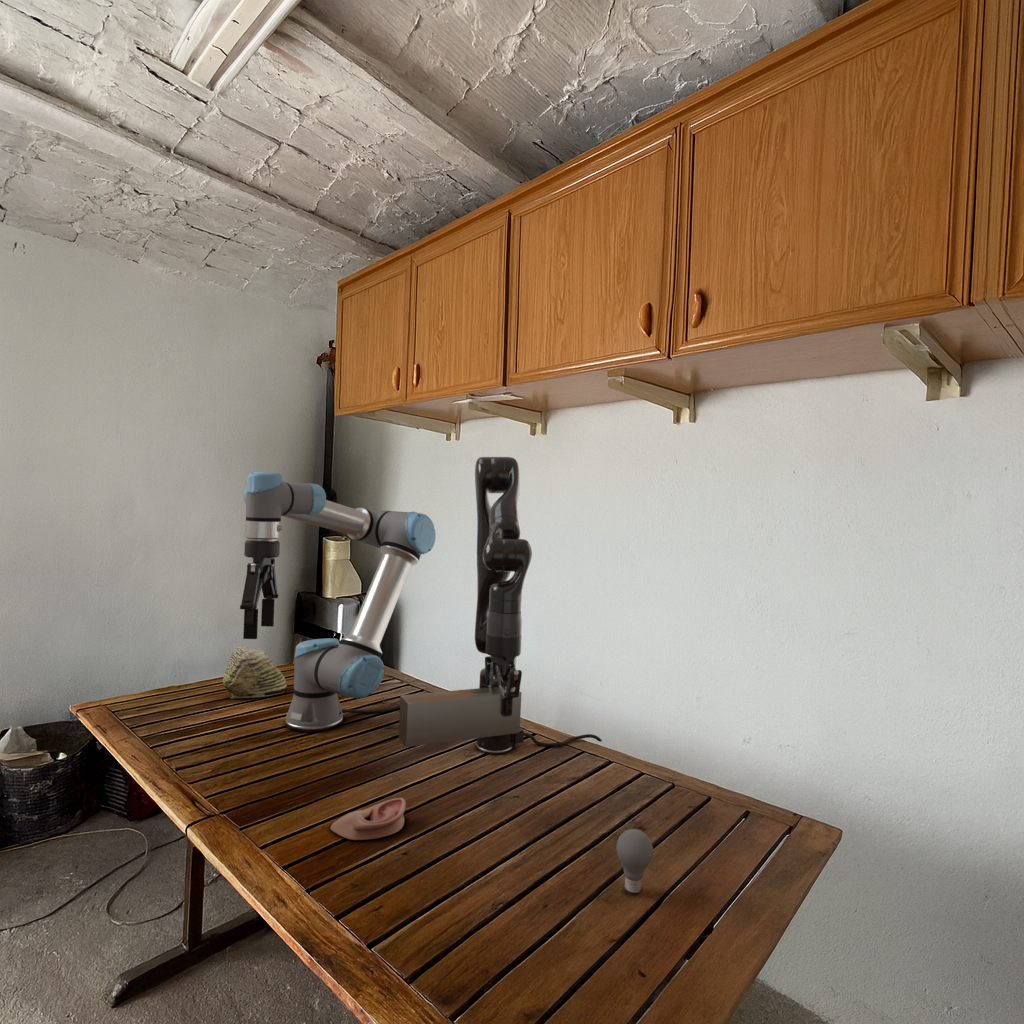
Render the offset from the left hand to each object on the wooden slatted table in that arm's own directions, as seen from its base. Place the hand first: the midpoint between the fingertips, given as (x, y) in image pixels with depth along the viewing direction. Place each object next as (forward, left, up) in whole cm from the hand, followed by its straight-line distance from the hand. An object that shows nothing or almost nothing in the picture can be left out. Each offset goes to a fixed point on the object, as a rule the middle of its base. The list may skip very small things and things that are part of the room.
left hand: (259, 632), depth 145 cm
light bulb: (-18, +87, -32) cm, 95 cm away
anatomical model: (-2, +39, -32) cm, 50 cm away
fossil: (-28, -49, -32) cm, 65 cm away
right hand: (-27, +50, -12) cm, 58 cm away
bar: (-19, +47, -16) cm, 53 cm away
